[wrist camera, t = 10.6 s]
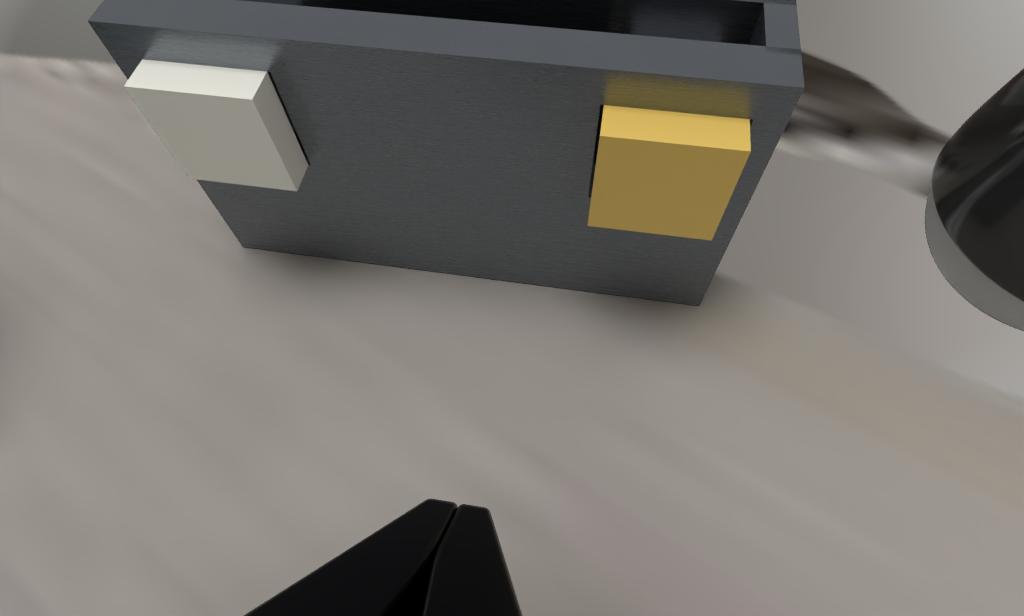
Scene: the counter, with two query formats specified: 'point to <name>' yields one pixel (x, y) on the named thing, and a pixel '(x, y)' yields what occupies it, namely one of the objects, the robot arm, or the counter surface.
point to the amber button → (666, 171)
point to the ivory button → (220, 123)
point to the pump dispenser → (983, 207)
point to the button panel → (479, 123)
